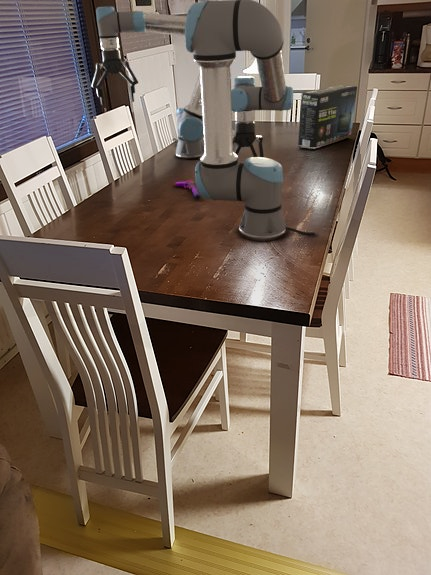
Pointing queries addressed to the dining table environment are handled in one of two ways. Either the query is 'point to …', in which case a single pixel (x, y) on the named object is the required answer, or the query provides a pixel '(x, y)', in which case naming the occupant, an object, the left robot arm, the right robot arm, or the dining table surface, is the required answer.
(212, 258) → the dining table surface
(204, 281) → the dining table surface
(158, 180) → the dining table surface
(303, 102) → the router box
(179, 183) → the handgun
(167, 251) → the dining table surface
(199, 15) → the right robot arm
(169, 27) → the left robot arm
